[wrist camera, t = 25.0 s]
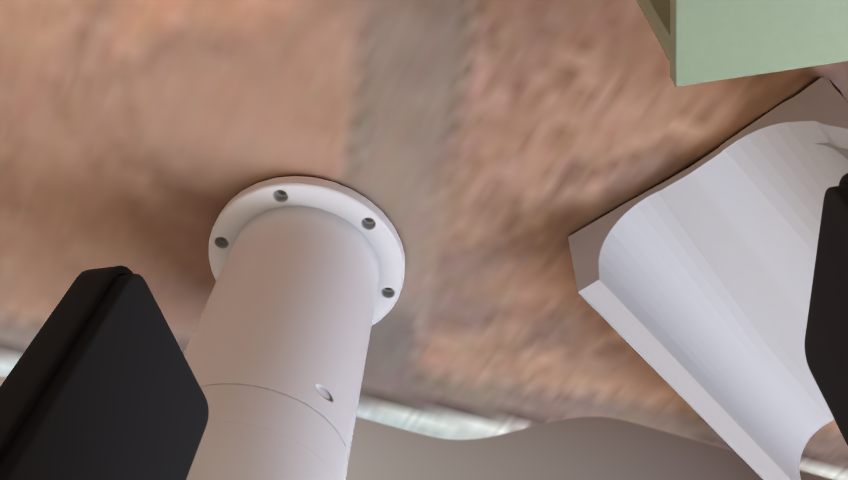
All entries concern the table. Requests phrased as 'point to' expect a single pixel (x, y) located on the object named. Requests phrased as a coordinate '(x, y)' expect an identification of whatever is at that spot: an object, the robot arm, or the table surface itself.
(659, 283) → the grey storage tray
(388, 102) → the table surface
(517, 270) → the table surface
